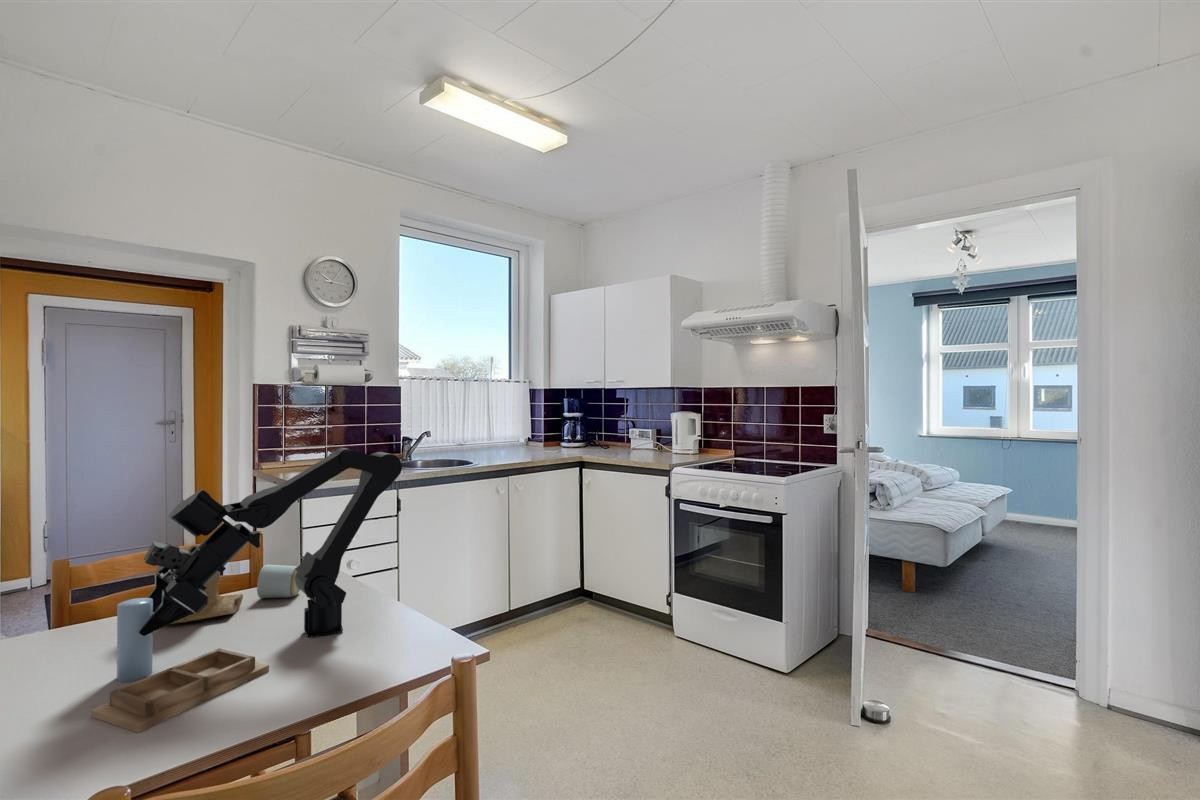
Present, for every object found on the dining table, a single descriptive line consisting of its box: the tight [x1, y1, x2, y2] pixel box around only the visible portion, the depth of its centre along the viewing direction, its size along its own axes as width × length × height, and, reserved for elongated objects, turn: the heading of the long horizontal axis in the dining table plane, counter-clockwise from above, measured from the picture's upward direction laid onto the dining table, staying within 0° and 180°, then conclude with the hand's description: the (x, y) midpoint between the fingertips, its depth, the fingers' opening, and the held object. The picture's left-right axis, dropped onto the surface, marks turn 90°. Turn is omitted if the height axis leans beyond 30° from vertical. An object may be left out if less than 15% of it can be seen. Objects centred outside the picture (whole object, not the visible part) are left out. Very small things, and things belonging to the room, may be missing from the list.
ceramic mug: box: [256, 564, 301, 599], centre depth 145 cm, size 11×8×8 cm
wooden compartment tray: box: [90, 648, 270, 733], centre depth 97 cm, size 21×11×3 cm, turn 158°
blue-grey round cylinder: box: [116, 597, 154, 683], centre depth 102 cm, size 5×5×12 cm
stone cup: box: [170, 572, 244, 625], centre depth 129 cm, size 15×12×15 cm
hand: (138, 626), depth 103 cm, fingers open, 9 cm apart
